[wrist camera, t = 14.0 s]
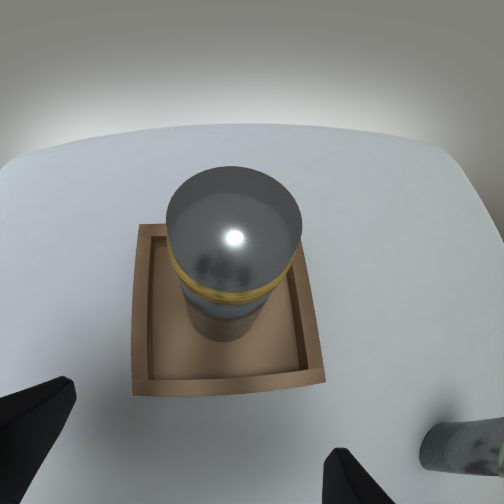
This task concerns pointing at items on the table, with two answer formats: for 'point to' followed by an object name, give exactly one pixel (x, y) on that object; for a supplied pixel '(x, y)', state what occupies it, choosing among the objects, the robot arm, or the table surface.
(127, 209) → the table surface
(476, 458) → the cylinder
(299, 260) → the tray
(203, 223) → the cylinder
